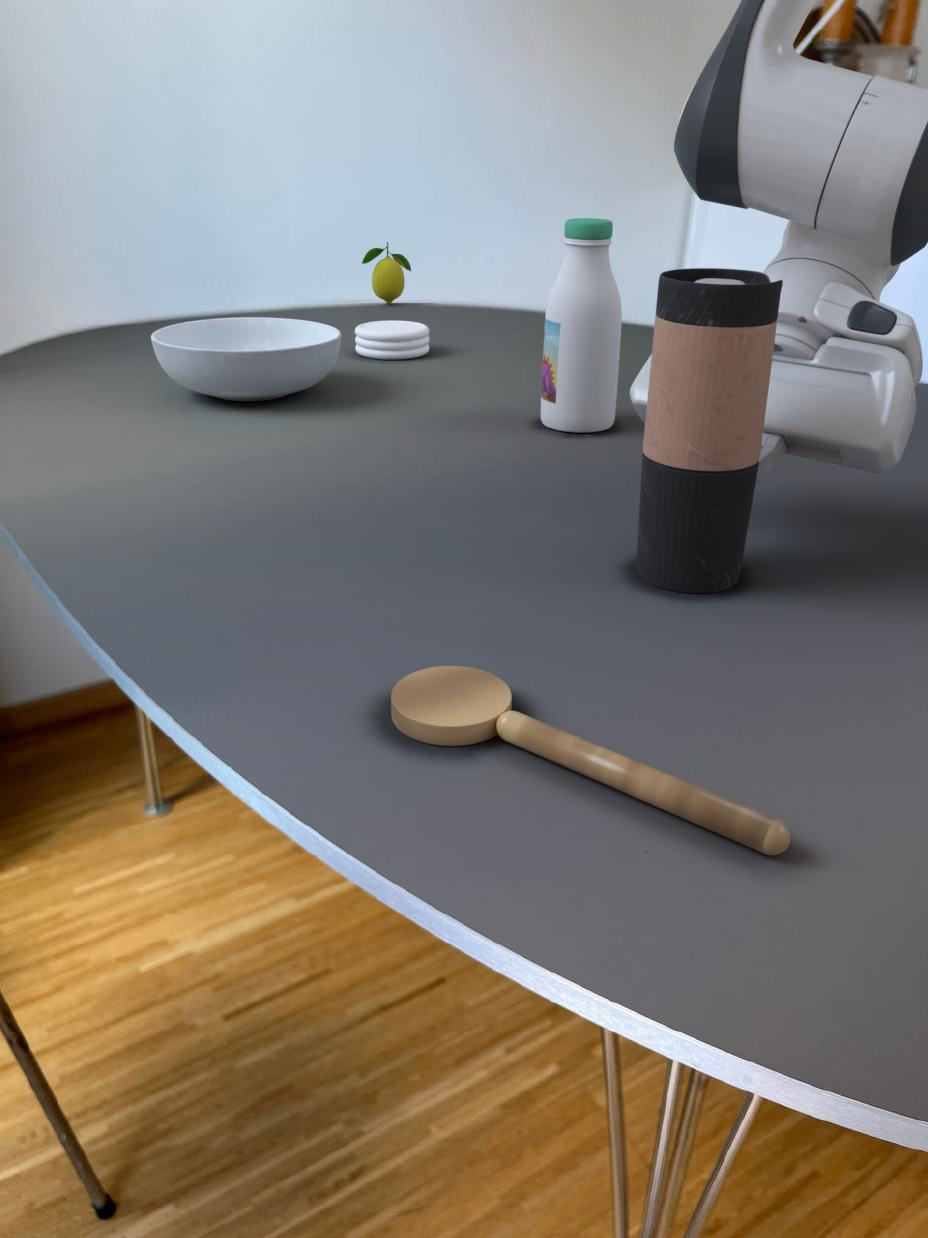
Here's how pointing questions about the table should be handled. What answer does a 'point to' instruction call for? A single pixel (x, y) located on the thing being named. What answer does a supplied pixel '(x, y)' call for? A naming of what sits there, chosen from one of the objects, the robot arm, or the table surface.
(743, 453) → the travel mug
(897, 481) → the table surface
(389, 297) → the lemon
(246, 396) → the serving bowl
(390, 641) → the table surface
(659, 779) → the wooden spoon
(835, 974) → the table surface
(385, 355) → the coaster
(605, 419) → the milk bottle
